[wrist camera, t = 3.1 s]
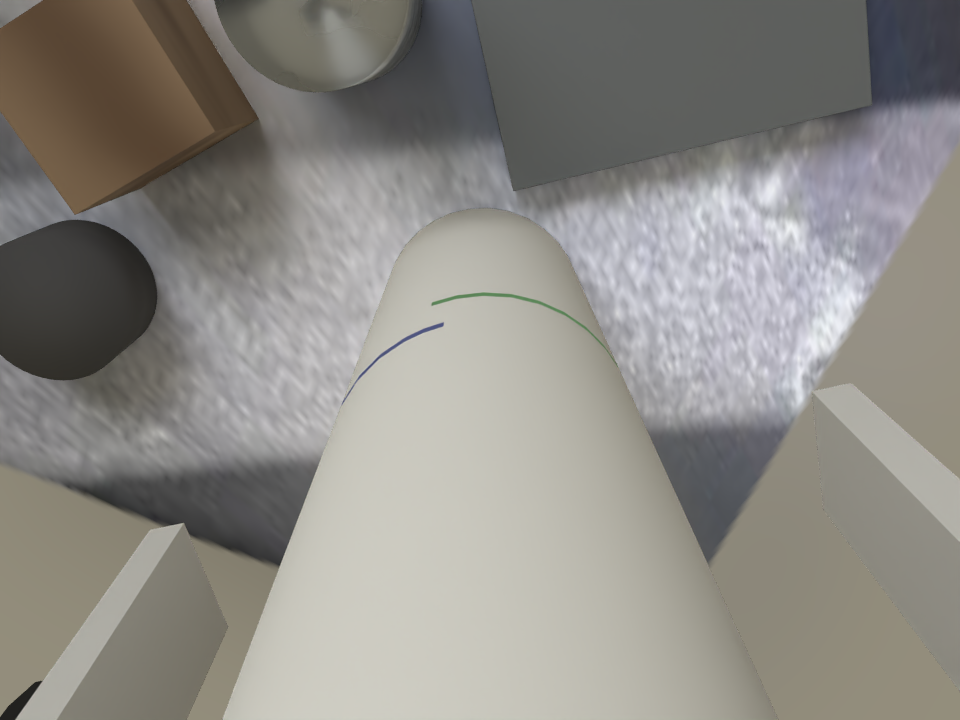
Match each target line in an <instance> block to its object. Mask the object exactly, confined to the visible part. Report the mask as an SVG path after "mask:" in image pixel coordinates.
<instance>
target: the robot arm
mask: <svg viewBox="0 0 960 720" xmlns="http://www.w3.org/2000/svg"><path fill="white" fill-rule="evenodd" d="M812 400H813V409H814V420H815V430H816V440H817V450H818V460H819V470H820V480H821V491H822V501H823V510H824V511H825V513H826V514H827V515H828V517H829V518H830V519H831V521H832V522H833V523H834V524H835V526H836V527H837V529H838V530H839V531H840V533H841V534H842V535H843V537H844V538H845V539H846V540H847V542H848V543H849V545H850V546H851V547H852V549H853V550H854V551H855V553H856V554H857V555H858V557H859V558H860V559H861V561H862V562H863V563H864V565H865V566H866V567H867V569H868V570H869V571H870V573H871V574H872V575H873V576H874V578H875V579H876V581H877V582H878V583H879V584H880V586H881V587H882V588H883V590H884V591H885V592H886V594H887V595H888V596H889V598H890V599H891V601H892V602H893V603H894V604H895V606H896V607H897V608H898V610H899V611H900V613H901V614H902V615H903V617H904V618H905V619H906V620H907V622H908V623H909V625H910V626H911V627H912V629H913V630H914V631H915V632H916V634H917V635H918V636H919V638H920V639H921V641H922V642H923V643H924V644H925V646H926V647H927V648H928V650H929V651H930V653H931V654H932V655H933V657H934V658H935V659H936V661H937V662H938V663H939V664H940V666H941V667H942V669H943V670H944V671H945V672H946V674H947V675H948V676H949V678H950V679H951V680H952V682H953V683H954V684H955V686H956V687H957V688H958V690H959V691H960V479H959V478H958V477H957V476H955V475H954V474H953V473H952V472H951V471H950V470H949V469H947V468H946V467H945V466H944V465H943V464H942V463H940V461H939V460H937V459H936V458H935V457H934V456H933V455H932V454H930V453H929V452H928V451H927V450H926V449H925V448H924V447H923V446H922V445H920V444H919V443H918V442H917V441H916V440H915V439H914V438H912V437H911V436H910V435H909V434H908V433H907V432H906V431H905V430H903V429H902V428H901V427H900V426H899V425H898V424H897V423H896V422H894V421H893V420H892V419H891V418H890V417H889V416H888V415H887V414H885V413H884V412H883V411H882V410H881V409H880V408H879V407H878V406H876V405H875V404H874V403H873V402H872V401H871V400H869V399H868V398H867V397H866V396H865V395H864V394H863V393H862V392H861V391H859V390H858V389H857V388H856V387H855V386H854V385H853V384H852V383H849V384H844V385H840V386H835V387H830V388H825V389H820V390H816V391H812ZM227 629H228V625H227V623H226V621H225V618H224V616H223V614H222V611H221V609H220V607H219V604H218V602H217V599H216V597H215V595H214V593H213V590H212V588H211V585H210V583H209V581H208V579H207V576H206V574H205V571H204V569H203V567H202V564H201V562H200V560H199V557H198V555H197V553H196V550H195V548H194V546H193V543H192V541H191V538H190V536H189V534H188V531H187V529H186V527H185V524H184V523H181V524H176V525H172V526H167V527H162V528H158V529H153V530H150V531H149V532H148V533H147V535H146V536H145V538H144V539H143V540H142V542H141V543H140V545H139V546H138V547H137V549H136V550H135V552H134V553H133V555H132V556H131V557H130V559H129V560H128V562H127V563H126V564H125V566H124V567H123V569H122V570H121V571H120V573H119V574H118V576H117V577H116V579H115V580H114V581H113V583H112V584H111V586H110V587H109V588H108V590H107V591H106V593H105V594H104V595H103V597H102V598H101V600H100V601H99V603H98V604H97V605H96V607H95V608H94V610H93V611H92V612H91V614H90V615H89V617H88V618H87V619H86V621H85V622H84V624H83V625H82V626H81V628H80V629H79V631H78V632H77V634H76V635H75V636H74V638H73V639H72V641H71V642H70V643H69V645H68V646H67V648H66V649H65V651H64V652H63V653H62V655H61V656H60V657H59V659H58V660H57V662H56V663H55V665H54V666H53V667H52V669H51V670H50V672H49V673H48V674H47V676H46V677H45V679H44V680H43V681H39V682H35V683H34V684H33V685H32V686H30V687H29V688H28V689H27V690H26V691H25V692H24V693H23V694H21V695H20V696H19V697H18V698H17V699H16V700H15V701H14V702H13V703H11V704H10V705H9V706H8V707H7V709H6V710H5V711H4V713H3V714H2V716H1V717H0V720H187V717H188V715H189V713H190V711H191V708H192V706H193V704H194V702H195V700H196V697H197V695H198V693H199V691H200V689H201V686H202V684H203V682H204V680H205V677H206V675H207V673H208V671H209V669H210V666H211V664H212V662H213V660H214V658H215V655H216V653H217V651H218V649H219V646H220V644H221V642H222V640H223V637H224V635H225V633H226V631H227Z"/></svg>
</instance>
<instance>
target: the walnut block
mask: <svg viewBox="0 0 960 720" xmlns="http://www.w3.org/2000/svg"><path fill="white" fill-rule="evenodd" d="M0 111H1V113H2V114H3V116H4V117H5V118H6V120H7V121H8V123H9V124H10V125H11V127H12V128H13V129H14V131H15V132H16V134H17V135H18V136H19V138H20V139H21V141H22V142H23V143H24V145H25V146H26V147H27V149H28V150H29V152H30V153H31V154H32V156H33V157H34V159H35V160H36V161H37V163H38V164H39V166H40V167H41V168H42V170H43V171H44V172H45V174H46V175H47V177H48V178H49V179H50V181H51V182H52V184H53V185H54V186H55V188H56V189H57V190H58V192H59V193H60V195H61V196H62V197H63V199H64V200H65V202H66V203H67V204H68V206H69V207H70V209H71V210H72V211H73V213H74V214H75V215H76V214H78V213H81V212H83V211H86V210H88V209H90V208H93V207H95V206H98V205H100V204H103V203H105V202H108V201H110V200H113V199H115V198H118V197H120V196H123V195H125V194H128V193H130V192H133V191H135V190H138V189H140V188H142V187H143V186H145V185H147V184H149V183H150V182H152V181H154V180H155V179H157V178H159V177H160V176H162V175H164V174H165V173H167V172H169V171H171V170H172V169H174V168H176V167H177V166H179V165H181V164H182V163H184V162H186V161H188V160H189V159H191V158H193V157H194V156H196V155H198V154H199V153H201V152H203V151H204V150H206V149H208V148H210V147H211V146H213V145H215V144H216V143H218V142H220V141H221V140H223V139H225V138H226V137H228V136H230V135H232V134H233V133H235V132H237V131H238V130H240V129H242V128H243V127H245V126H247V125H249V124H250V123H252V122H254V121H255V120H257V119H259V118H258V117H257V115H256V113H255V112H254V110H253V109H252V107H251V105H250V104H249V102H248V100H247V99H246V97H245V95H244V94H243V92H242V91H241V89H240V87H239V86H238V84H237V82H236V81H235V79H234V77H233V76H232V74H231V73H230V71H229V69H228V68H227V66H226V64H225V63H224V61H223V59H222V58H221V56H220V55H219V53H218V51H217V50H216V48H215V46H214V45H213V43H212V41H211V40H210V38H209V37H208V35H207V33H206V32H205V30H204V28H203V27H202V25H201V23H200V22H199V20H198V19H197V17H196V15H195V14H194V12H193V10H192V9H191V7H190V6H189V4H188V2H187V1H186V0H43V1H41V2H40V3H38V4H37V5H35V6H34V7H32V8H31V9H29V10H28V11H26V12H25V13H23V14H21V15H20V16H18V17H17V18H15V19H14V20H12V21H11V22H9V23H8V24H6V25H5V26H3V27H2V28H0Z"/></svg>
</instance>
